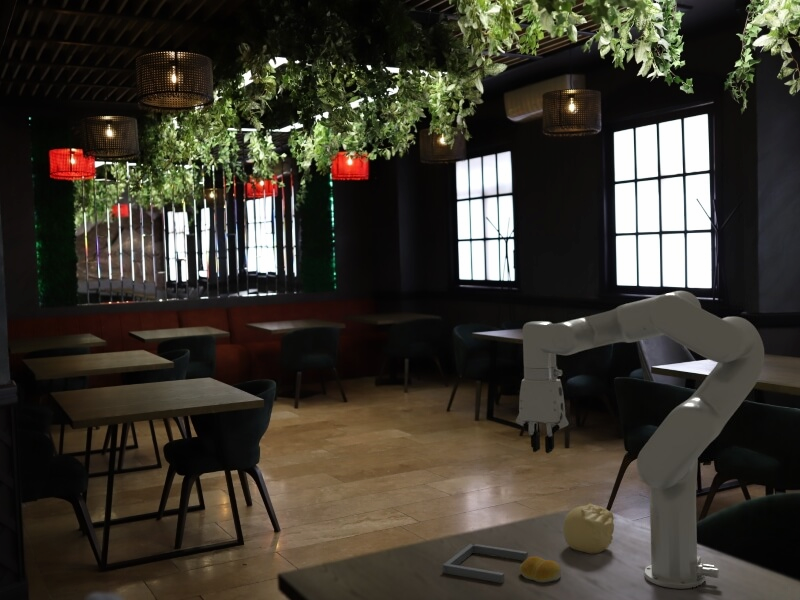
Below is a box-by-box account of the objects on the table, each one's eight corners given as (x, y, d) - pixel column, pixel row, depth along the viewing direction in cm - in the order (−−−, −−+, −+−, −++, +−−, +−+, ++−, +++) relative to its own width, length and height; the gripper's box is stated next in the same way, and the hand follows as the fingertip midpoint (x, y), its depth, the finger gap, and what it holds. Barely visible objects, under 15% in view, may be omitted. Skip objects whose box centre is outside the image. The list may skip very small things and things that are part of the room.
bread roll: (550, 586, 179) (550, 568, 179) (515, 577, 185) (514, 560, 185) (568, 574, 186) (568, 556, 185) (533, 565, 191) (532, 548, 191)
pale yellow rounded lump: (606, 560, 192) (604, 515, 191) (556, 552, 198) (555, 508, 198) (620, 545, 202) (619, 501, 201) (573, 537, 208) (572, 495, 207)
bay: (527, 559, 195) (527, 551, 195) (502, 583, 182) (502, 575, 181) (471, 550, 202) (471, 543, 202) (442, 572, 189) (442, 565, 189)
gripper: (578, 373, 194) (581, 450, 195) (514, 370, 202) (516, 445, 203) (568, 377, 187) (570, 458, 188) (502, 375, 195) (504, 452, 196)
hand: (542, 450), depth 196 cm, fingers open, 2 cm apart
